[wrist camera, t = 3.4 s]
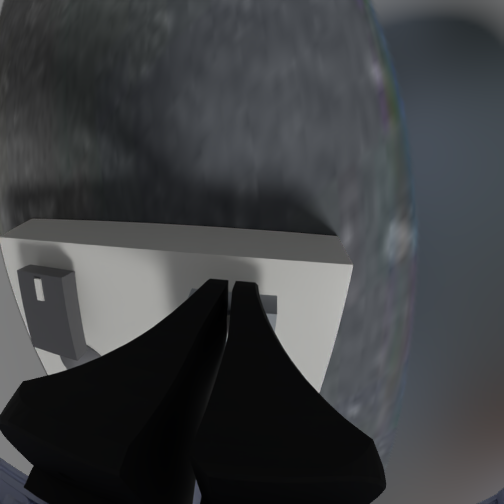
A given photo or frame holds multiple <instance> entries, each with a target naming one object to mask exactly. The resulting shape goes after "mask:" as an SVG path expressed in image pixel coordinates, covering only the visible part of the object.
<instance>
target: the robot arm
mask: <svg viewBox="0 0 504 504" xmlns="http://www.w3.org/2000/svg"><path fill="white" fill-rule="evenodd" d="M228 281H229V280H222V279H209V280H207V281H206V282H205V283H204V284H203V285H202V286H201V287H200V288H199V289H198V290H197V291H195V292H194V293H193V294H192V295H191V296H190V297H189V298H188V299H187V300H186V301H184V302H183V303H182V304H181V305H180V306H179V307H178V308H176V309H175V310H174V311H173V312H172V313H171V314H169V315H168V316H167V317H165V318H164V319H163V320H161V321H160V322H159V323H158V324H156V325H155V326H154V327H152V328H151V329H149V330H148V331H146V332H145V333H143V334H142V335H140V336H138V337H137V338H135V339H133V340H132V341H130V342H128V343H127V344H125V345H123V346H121V347H119V348H117V349H115V350H113V351H111V352H109V353H107V354H105V355H103V356H101V357H99V358H96V359H94V360H92V361H89V362H87V363H84V364H82V365H79V366H76V367H73V368H71V369H68V370H65V371H62V372H59V373H55V374H51V375H47V376H43V377H40V378H36V379H32V380H27V381H23V382H22V384H21V385H20V386H19V388H18V389H17V391H16V392H15V393H14V395H13V396H12V398H11V399H10V401H9V402H8V404H7V405H6V407H5V408H4V410H3V412H2V413H1V414H0V430H1V432H2V433H3V435H4V436H5V437H6V438H7V440H8V441H9V442H10V443H11V444H12V445H13V446H14V447H15V448H16V449H17V450H18V451H19V452H20V453H21V454H22V455H23V456H24V457H25V458H26V459H27V460H28V461H29V462H30V463H31V464H33V465H34V467H33V468H32V470H31V472H30V474H29V476H27V475H26V474H24V473H22V472H21V471H19V470H18V469H16V468H15V467H13V466H11V465H10V464H8V463H7V462H6V461H4V460H3V459H1V458H0V504H370V503H371V502H372V501H373V500H375V499H376V498H377V497H378V496H379V495H380V494H381V493H382V492H383V491H384V490H385V488H386V480H385V473H384V469H383V465H382V462H381V459H380V457H379V454H378V451H377V449H376V446H375V444H374V441H373V439H371V438H370V437H369V436H367V435H366V434H365V433H363V432H362V431H361V430H359V429H358V428H357V427H355V426H354V425H353V424H351V423H350V422H349V421H348V420H346V419H345V418H344V417H343V416H342V415H341V414H339V413H338V412H337V411H336V410H335V409H334V408H333V407H332V406H331V405H330V404H329V403H328V402H327V401H326V400H325V399H324V398H323V397H322V396H321V395H320V394H319V393H318V392H317V391H316V389H315V388H314V387H313V386H312V385H311V384H310V383H309V382H308V381H307V380H306V378H305V377H304V376H303V375H302V373H301V372H300V371H299V370H298V368H297V367H296V366H295V364H294V363H293V361H292V360H291V359H290V357H289V356H288V354H287V353H286V351H285V350H284V348H283V346H282V345H281V343H280V341H279V339H278V338H277V336H276V334H275V332H274V330H273V328H272V326H271V324H270V322H269V320H268V317H267V315H266V313H265V310H264V308H263V305H262V302H261V299H260V295H259V289H258V285H257V284H256V283H255V282H245V281H236V282H235V284H234V287H233V289H232V297H231V308H230V320H229V331H228V337H227V309H228ZM226 339H227V342H226ZM477 504H504V488H503V489H502V490H500V491H499V492H498V493H497V494H496V495H494V496H492V497H490V498H488V499H486V500H484V501H482V502H480V503H477Z"/></svg>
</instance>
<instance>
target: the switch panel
mask: <svg viewBox="0 0 504 504" xmlns="http://www.w3.org/2000/svg"><path fill="white" fill-rule="evenodd" d="M0 244H1V249H2V253H3V257H4V261H5V264H6V268H7V272H8V275H9V279H10V282H11V285H12V288H13V291H14V295H15V298H16V301H17V303H18V306H19V309H20V312H21V315H22V317H23V320H24V322H25V325H26V328H27V330H28V332H29V329H28V325H27V321H26V316H25V312H24V307H23V302H22V297H21V292H20V287H19V281H18V274H17V270H18V269H21V268H23V267H25V266H27V265H30V264H31V265H38V266H44V267H51V268H58V269H65V270H72V271H75V278H76V286H77V294H78V301H79V307H80V314H81V319H82V325H83V330H84V336H85V341H86V345H87V350H88V351H87V352H86V353H85V354H84V355H83V356H82V357H81V358H80V359H79V360H78V361H76V360H73V359H69V358H66V357H63V356H60V355H57V354H53V353H50V352H47V351H45V350H42V349H39V348H36V347H35V349H36V351H37V353H38V355H39V358H40V360H41V362H42V364H43V366H44V368H45V370H46V372H47V374H48V375H51V374H55V373H59V372H62V371H65V370H68V369H71V368H73V367H76V366H79V365H82V364H84V363H87V362H89V361H92V360H94V359H96V358H99V357H101V356H103V355H105V354H107V353H109V352H111V351H113V350H115V349H117V348H119V347H121V346H123V345H125V344H127V343H128V342H130V341H132V340H133V339H135V338H137V337H138V336H140V335H142V334H143V333H145V332H146V331H148V330H149V329H151V328H152V327H154V326H155V325H156V324H158V323H159V322H160V321H161V320H163V319H164V318H165V317H167V316H168V315H169V314H171V313H172V312H173V311H174V310H175V309H176V308H178V307H179V306H180V305H181V304H182V303H183V302H184V301H186V300H187V299H188V296H189V294H190V291H191V289H192V288H193V289H199V288H200V287H201V286H202V285H203V284H204V283H205V282H206V281H207V280H209V279H222V280H229V281H228V292H232V289H233V287H234V284H235V282H236V281H245V282H255V283H256V284H257V285H258V289H259V294H262V295H276V296H277V319H276V327H275V334H276V336H277V338H278V339H279V341H280V343H281V345H282V346H283V348H284V350H285V351H286V353H287V354H288V356H289V357H290V359H291V360H292V361H293V363H294V364H295V366H296V367H297V368H298V370H299V371H300V372H301V373H302V375H303V376H304V377H305V378H306V380H307V381H308V382H309V383H310V384H311V385H312V386H313V387H314V388H315V389H316V391H317V392H318V393H319V392H320V389H321V386H322V383H323V380H324V377H325V373H326V370H327V367H328V363H329V360H330V357H331V353H332V350H333V346H334V343H335V339H336V335H337V332H338V328H339V324H340V320H341V316H342V312H343V308H344V304H345V300H346V296H347V292H348V287H349V283H350V278H351V274H352V269H353V263H352V261H351V259H350V258H349V256H348V254H347V252H346V250H345V248H344V246H343V245H342V243H341V241H340V239H339V237H338V236H331V235H319V234H307V233H295V232H282V231H268V230H255V229H240V228H225V227H210V226H194V225H176V224H158V223H139V222H117V221H93V220H66V219H30V220H28V221H26V222H24V223H23V224H21V225H19V226H17V227H15V228H14V229H12V230H10V231H8V232H7V233H5V234H3V235H1V236H0ZM29 335H30V333H29ZM30 337H31V336H30Z"/></svg>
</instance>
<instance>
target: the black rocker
mask: <svg viewBox="0 0 504 504" xmlns="http://www.w3.org/2000/svg"><path fill="white" fill-rule="evenodd" d="M17 274H18V281H19V287H20V292H21V297H22V302H23V307H24V312H25V316H26V321H27V325H28V329H29V333H30V336H31V340H32V344H33V347H36V348H39V349H42V350H45V351H47V352H50V353H53V354H57V355H60V356H63V357H66V358H69V359H73V360H76V361H78V360H79V359H80V358H81V357H82V356H83V355H84V354H85V353H86V352H87V351H88V350H87V345H86V341H85V336H84V330H83V325H82V319H81V314H80V307H79V301H78V294H77V286H76V278H75V271H72V270H65V269H58V268H51V267H44V266H38V265H31V264H30V265H27V266H25V267H23V268H21V269H18V270H17Z"/></svg>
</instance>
